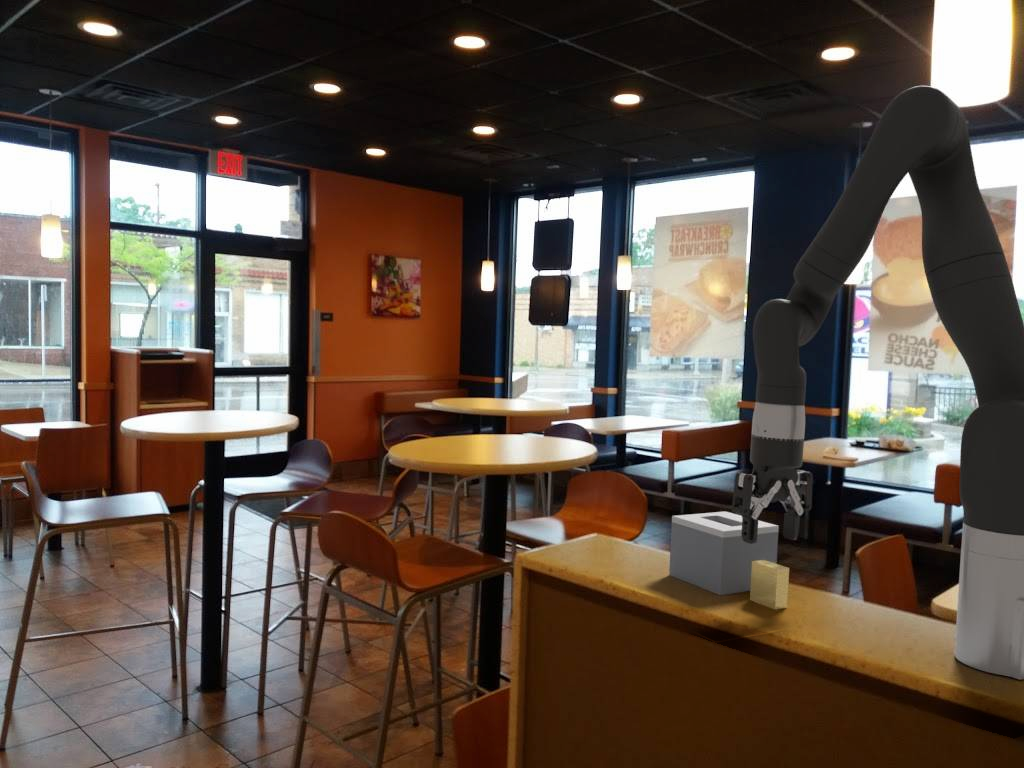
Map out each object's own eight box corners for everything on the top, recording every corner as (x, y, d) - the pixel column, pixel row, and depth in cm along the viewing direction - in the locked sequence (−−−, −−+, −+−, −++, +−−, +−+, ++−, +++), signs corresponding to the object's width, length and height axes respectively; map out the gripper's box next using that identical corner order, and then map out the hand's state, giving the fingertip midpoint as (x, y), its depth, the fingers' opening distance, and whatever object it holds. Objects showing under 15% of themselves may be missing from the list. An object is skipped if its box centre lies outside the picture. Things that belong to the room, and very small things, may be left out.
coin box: (775, 586, 132) (778, 525, 132) (720, 595, 127) (723, 531, 126) (722, 568, 143) (725, 511, 142) (669, 575, 137) (672, 515, 137)
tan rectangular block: (787, 607, 122) (789, 568, 121) (775, 609, 121) (777, 569, 120) (761, 598, 126) (763, 559, 126) (749, 600, 125) (751, 561, 125)
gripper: (762, 437, 116) (754, 550, 116) (830, 436, 123) (822, 543, 123) (724, 431, 122) (717, 538, 123) (791, 430, 129) (784, 531, 130)
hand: (770, 540), depth 123 cm, fingers open, 8 cm apart
